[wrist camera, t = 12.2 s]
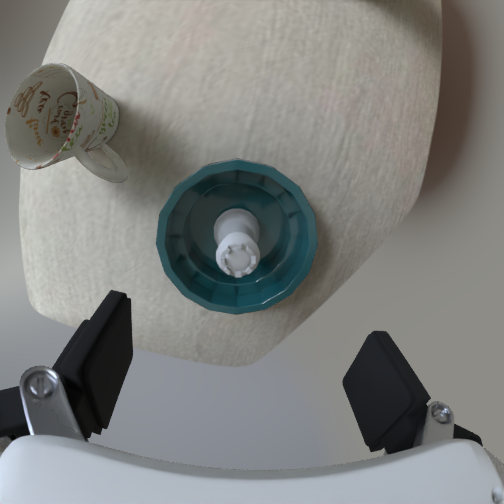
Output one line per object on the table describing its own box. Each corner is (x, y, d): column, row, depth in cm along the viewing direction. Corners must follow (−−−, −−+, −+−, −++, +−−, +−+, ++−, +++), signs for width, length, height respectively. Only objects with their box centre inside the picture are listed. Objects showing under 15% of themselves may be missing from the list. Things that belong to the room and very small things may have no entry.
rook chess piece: (264, 212, 26) (276, 237, 19) (254, 254, 28) (262, 293, 20) (218, 203, 26) (211, 225, 18) (210, 246, 27) (202, 284, 20)
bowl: (181, 148, 24) (170, 147, 19) (318, 177, 26) (335, 183, 21) (163, 275, 29) (151, 299, 24) (283, 297, 30) (292, 322, 26)
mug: (99, 70, 20) (46, 45, 11) (174, 141, 24) (140, 137, 14) (53, 130, 22) (-7, 131, 12) (120, 202, 25) (70, 230, 16)
